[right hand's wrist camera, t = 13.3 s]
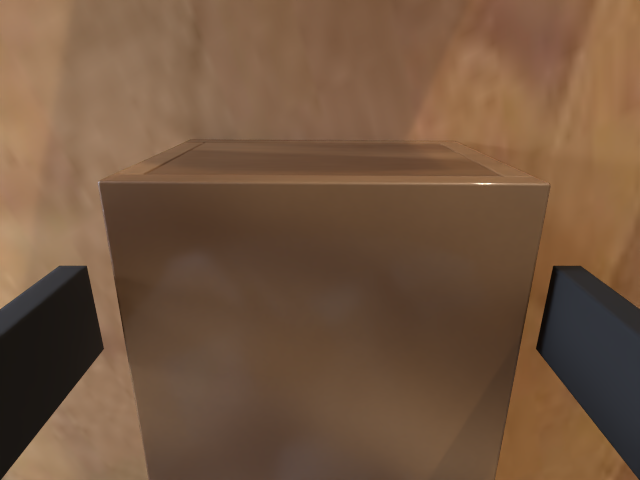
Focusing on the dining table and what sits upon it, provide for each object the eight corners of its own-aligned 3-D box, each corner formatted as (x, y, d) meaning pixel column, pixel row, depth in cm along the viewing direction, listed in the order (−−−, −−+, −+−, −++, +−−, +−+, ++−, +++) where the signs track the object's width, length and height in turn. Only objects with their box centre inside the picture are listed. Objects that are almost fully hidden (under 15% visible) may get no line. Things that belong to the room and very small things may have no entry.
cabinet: (416, 508, 26) (456, 688, 18) (224, 506, 26) (183, 686, 18) (456, 141, 18) (552, 183, 11) (189, 139, 18) (95, 180, 11)
